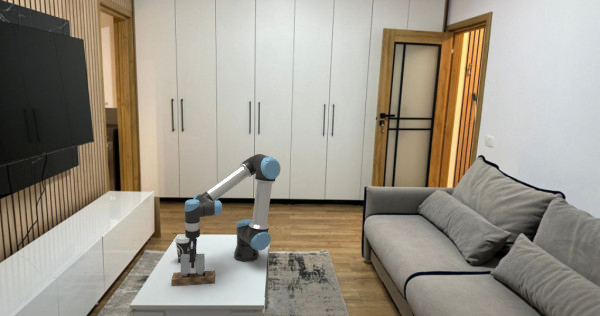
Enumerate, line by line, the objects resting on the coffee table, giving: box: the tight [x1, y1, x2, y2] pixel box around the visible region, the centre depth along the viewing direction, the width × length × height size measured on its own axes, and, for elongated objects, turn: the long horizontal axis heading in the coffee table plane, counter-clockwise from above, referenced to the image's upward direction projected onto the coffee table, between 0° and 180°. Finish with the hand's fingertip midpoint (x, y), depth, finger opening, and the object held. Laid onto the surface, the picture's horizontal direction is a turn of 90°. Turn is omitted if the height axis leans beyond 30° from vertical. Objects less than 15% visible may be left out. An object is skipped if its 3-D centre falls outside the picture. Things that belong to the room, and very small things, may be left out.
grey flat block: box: [180, 253, 206, 277], centre depth 213 cm, size 12×4×12 cm, turn 100°
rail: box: [170, 270, 216, 287], centre depth 214 cm, size 22×8×4 cm, turn 100°
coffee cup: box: [174, 233, 190, 264], centre depth 237 cm, size 10×10×15 cm
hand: (193, 270), depth 214 cm, fingers closed on grey flat block, 4 cm apart
